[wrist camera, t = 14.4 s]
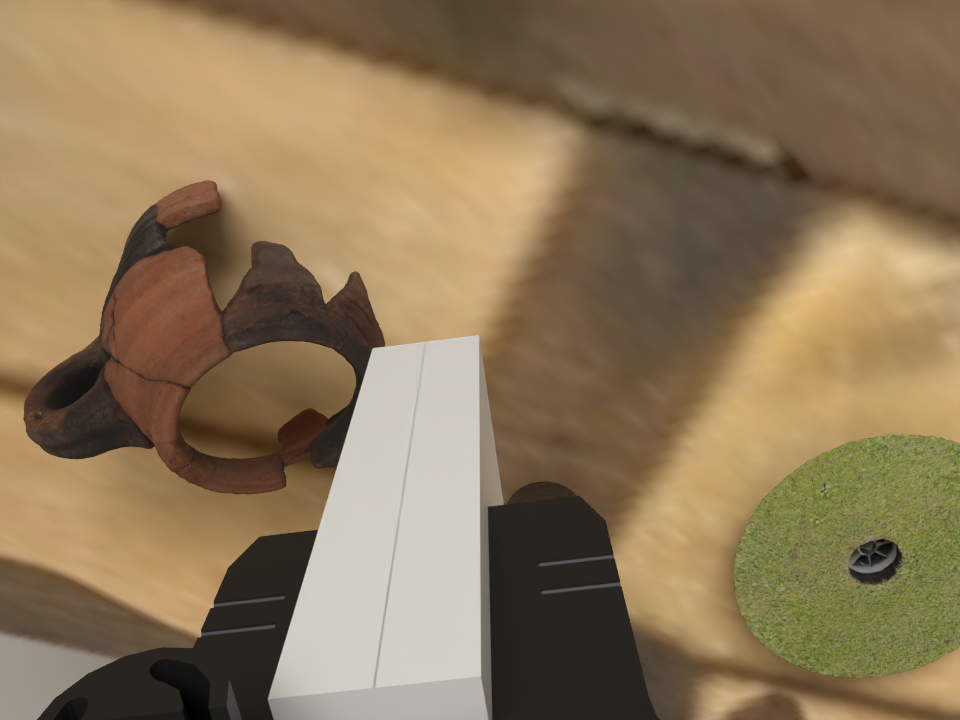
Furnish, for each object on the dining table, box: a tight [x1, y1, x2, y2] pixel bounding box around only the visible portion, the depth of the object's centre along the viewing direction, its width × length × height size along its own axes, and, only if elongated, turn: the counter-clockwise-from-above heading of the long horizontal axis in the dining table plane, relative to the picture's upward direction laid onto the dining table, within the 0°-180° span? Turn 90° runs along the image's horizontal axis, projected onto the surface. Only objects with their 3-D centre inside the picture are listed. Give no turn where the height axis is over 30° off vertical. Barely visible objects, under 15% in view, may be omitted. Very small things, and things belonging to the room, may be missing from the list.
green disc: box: [733, 434, 960, 678], centre depth 34 cm, size 11×11×2 cm
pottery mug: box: [24, 181, 385, 494], centre depth 30 cm, size 12×9×8 cm
